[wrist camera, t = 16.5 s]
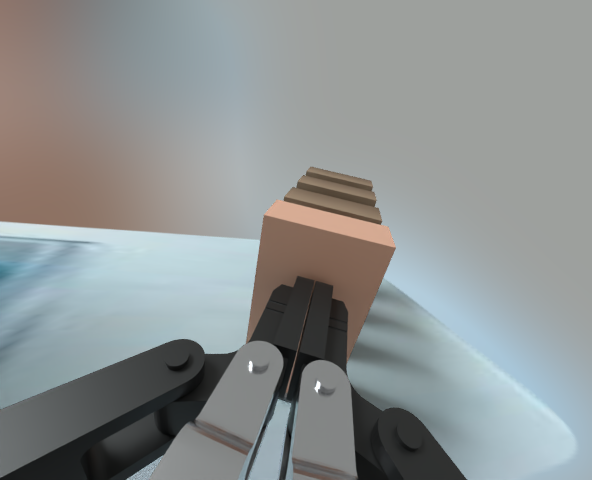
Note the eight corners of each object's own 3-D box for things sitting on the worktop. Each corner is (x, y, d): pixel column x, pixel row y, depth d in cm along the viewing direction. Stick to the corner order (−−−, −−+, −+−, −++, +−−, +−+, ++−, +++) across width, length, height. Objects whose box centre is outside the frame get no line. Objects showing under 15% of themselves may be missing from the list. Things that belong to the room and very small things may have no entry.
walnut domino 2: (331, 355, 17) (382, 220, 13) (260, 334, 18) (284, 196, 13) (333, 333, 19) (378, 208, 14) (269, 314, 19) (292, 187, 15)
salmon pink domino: (328, 405, 14) (395, 247, 9) (241, 378, 14) (263, 214, 10) (331, 372, 16) (388, 226, 11) (252, 349, 16) (276, 199, 11)
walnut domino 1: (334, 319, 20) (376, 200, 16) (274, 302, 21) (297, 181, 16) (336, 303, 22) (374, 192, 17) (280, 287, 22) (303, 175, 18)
